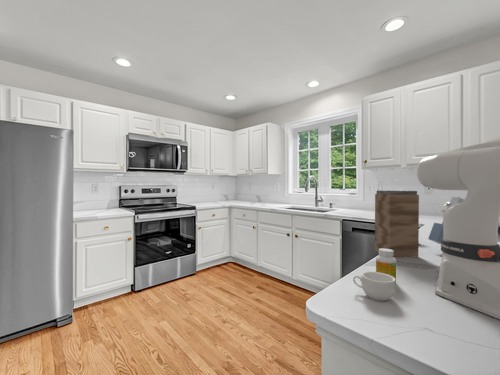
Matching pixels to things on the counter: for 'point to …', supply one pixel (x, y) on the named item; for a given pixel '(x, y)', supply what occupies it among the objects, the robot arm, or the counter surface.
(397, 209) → the socket tower
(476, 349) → the counter surface
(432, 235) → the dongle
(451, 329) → the counter surface
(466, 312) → the counter surface
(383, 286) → the teacup
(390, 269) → the supplement bottle
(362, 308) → the counter surface
